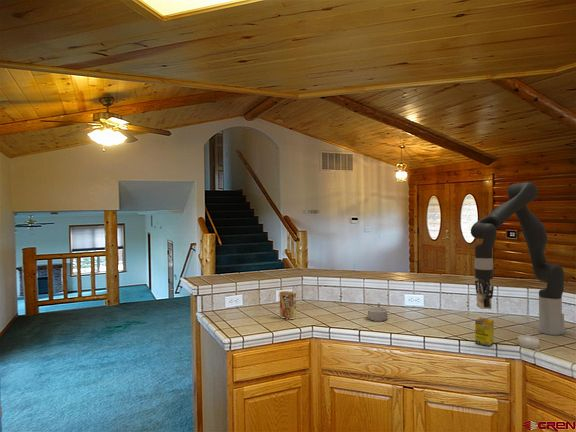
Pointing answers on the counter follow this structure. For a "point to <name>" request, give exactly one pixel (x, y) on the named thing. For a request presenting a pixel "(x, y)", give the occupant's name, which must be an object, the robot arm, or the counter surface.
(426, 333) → the counter surface
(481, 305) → the beech block
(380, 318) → the saucepan
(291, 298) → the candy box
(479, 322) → the supplement box
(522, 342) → the white rounded lump
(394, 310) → the counter surface
